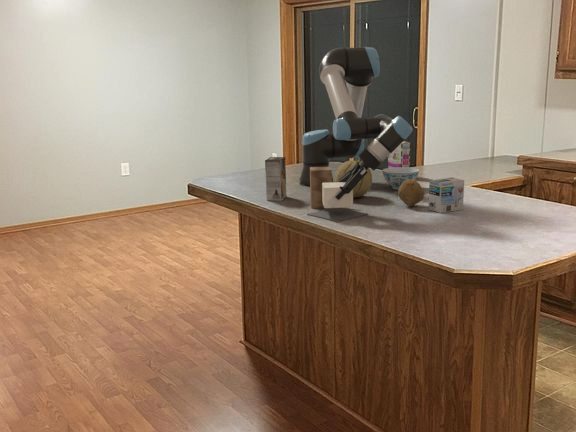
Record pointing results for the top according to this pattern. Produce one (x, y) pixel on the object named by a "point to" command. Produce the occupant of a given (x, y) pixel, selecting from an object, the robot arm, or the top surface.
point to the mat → (337, 214)
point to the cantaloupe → (362, 184)
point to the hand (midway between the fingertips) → (328, 201)
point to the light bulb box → (446, 195)
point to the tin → (318, 184)
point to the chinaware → (399, 175)
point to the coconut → (410, 192)
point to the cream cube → (331, 189)
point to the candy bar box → (400, 156)
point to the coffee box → (275, 178)
